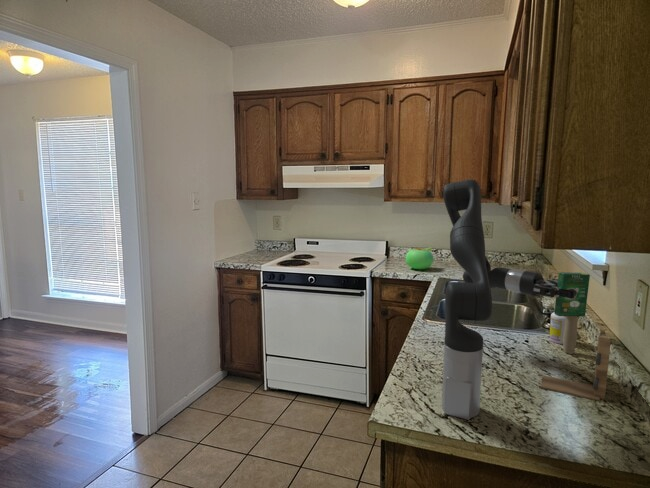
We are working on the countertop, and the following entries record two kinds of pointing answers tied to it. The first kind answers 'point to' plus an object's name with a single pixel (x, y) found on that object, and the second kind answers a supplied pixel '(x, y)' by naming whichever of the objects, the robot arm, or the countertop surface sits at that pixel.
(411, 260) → the green round pot
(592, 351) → the countertop surface
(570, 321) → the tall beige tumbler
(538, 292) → the robot arm
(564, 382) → the wooden l-shaped bracket
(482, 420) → the countertop surface
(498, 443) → the countertop surface
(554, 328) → the supplement bottle
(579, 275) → the coffee box
